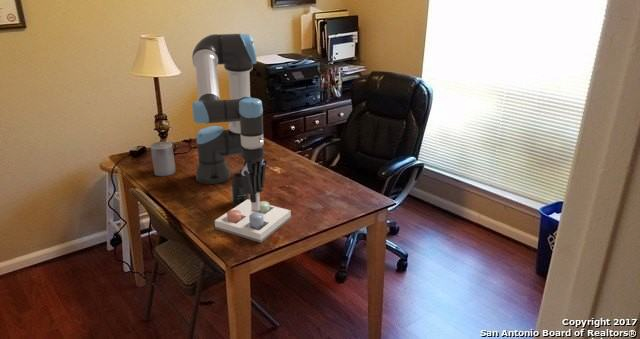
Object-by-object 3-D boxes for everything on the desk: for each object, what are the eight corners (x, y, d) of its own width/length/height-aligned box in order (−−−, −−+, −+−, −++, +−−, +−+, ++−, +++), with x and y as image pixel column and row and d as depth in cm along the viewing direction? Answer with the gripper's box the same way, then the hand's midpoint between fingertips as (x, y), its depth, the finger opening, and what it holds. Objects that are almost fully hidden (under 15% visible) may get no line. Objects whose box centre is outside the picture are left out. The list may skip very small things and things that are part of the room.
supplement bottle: (241, 207, 186) (240, 180, 181) (228, 203, 189) (226, 176, 184) (252, 201, 191) (251, 174, 186) (240, 197, 194) (238, 170, 190)
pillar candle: (164, 167, 224) (160, 137, 218) (180, 170, 220) (176, 140, 214) (149, 174, 216) (144, 144, 210) (165, 178, 212) (161, 147, 206)
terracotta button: (224, 224, 170) (224, 214, 169) (233, 218, 174) (232, 208, 173) (235, 227, 168) (235, 217, 166) (244, 221, 172) (243, 211, 171)
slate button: (247, 227, 165) (246, 217, 164) (255, 221, 169) (254, 211, 168) (258, 230, 163) (258, 220, 162) (266, 224, 167) (266, 214, 166)
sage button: (253, 214, 177) (253, 205, 175) (261, 209, 181) (260, 200, 180) (264, 217, 175) (264, 208, 173) (272, 212, 179) (271, 202, 177)
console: (215, 228, 170) (214, 220, 168) (248, 206, 186) (247, 199, 185) (260, 242, 161) (260, 234, 160) (290, 218, 177) (290, 210, 176)
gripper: (250, 153, 148) (253, 219, 156) (272, 141, 158) (275, 204, 167) (231, 149, 151) (235, 214, 160) (254, 138, 162) (257, 199, 170)
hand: (255, 209), depth 163 cm, fingers closed
